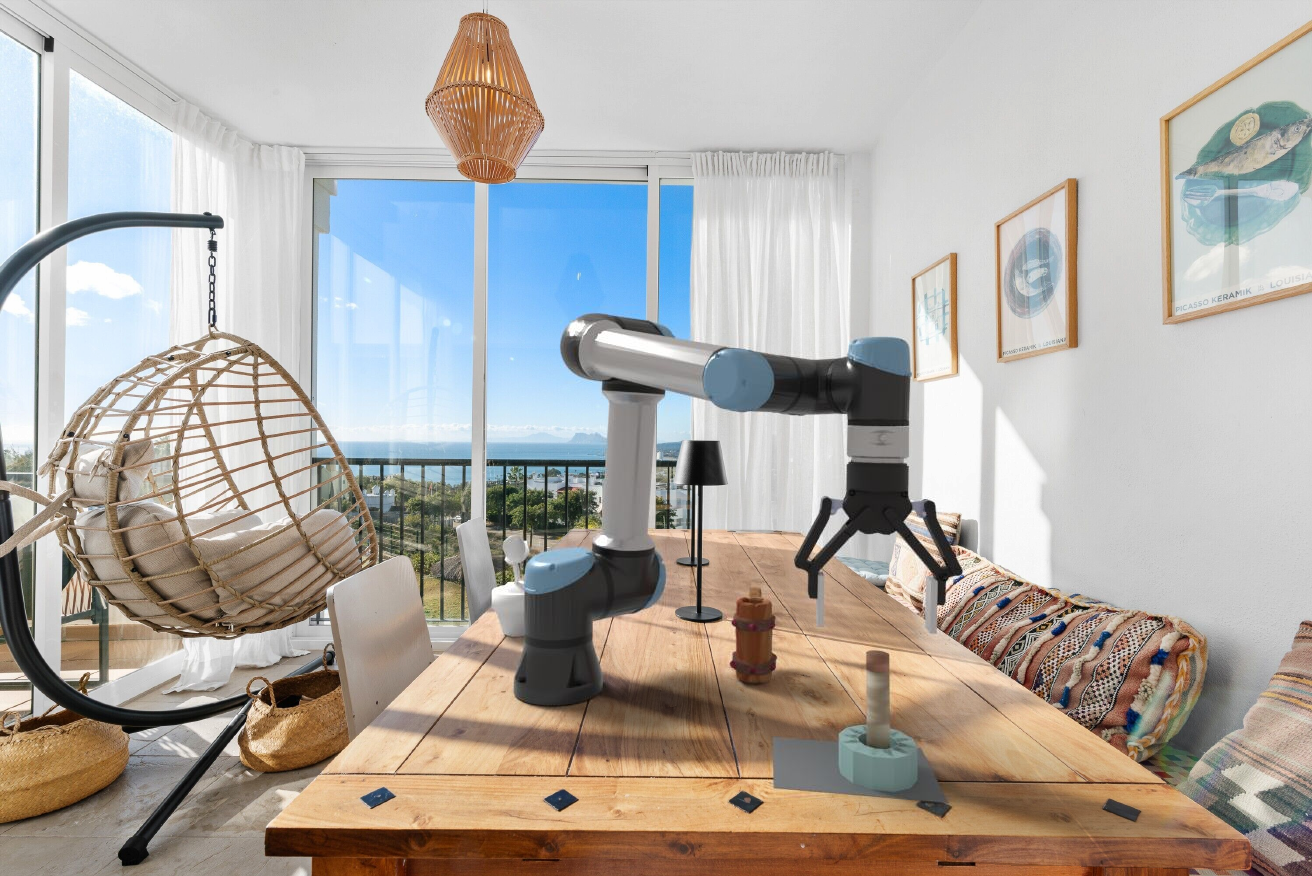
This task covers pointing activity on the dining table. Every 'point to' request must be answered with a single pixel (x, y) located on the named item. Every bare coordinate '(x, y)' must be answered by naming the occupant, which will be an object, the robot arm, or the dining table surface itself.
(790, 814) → the dining table surface
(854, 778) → the bead
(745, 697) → the dining table surface
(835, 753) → the mat
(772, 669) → the wooden banded keg
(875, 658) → the dowel
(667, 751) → the dining table surface
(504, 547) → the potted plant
